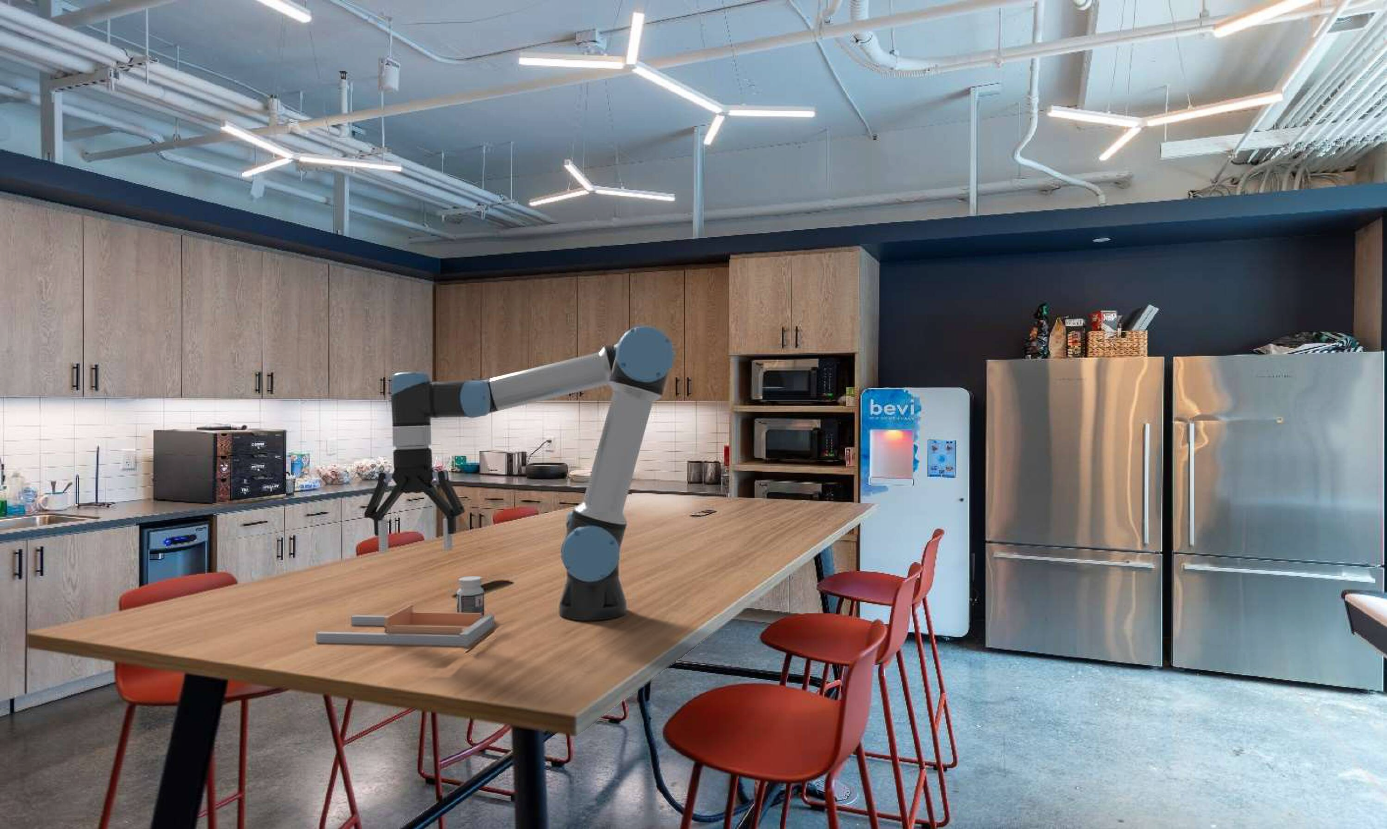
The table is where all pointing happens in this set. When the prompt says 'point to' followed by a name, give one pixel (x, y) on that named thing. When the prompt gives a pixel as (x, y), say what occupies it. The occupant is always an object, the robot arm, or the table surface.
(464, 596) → the pill bottle
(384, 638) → the bay
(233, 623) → the table surface
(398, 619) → the crate
